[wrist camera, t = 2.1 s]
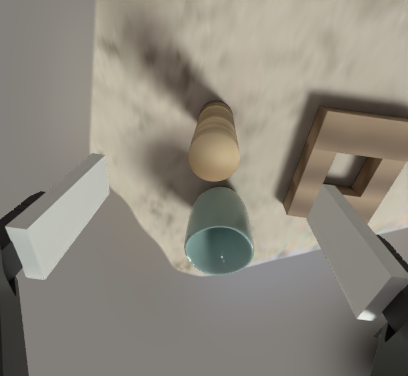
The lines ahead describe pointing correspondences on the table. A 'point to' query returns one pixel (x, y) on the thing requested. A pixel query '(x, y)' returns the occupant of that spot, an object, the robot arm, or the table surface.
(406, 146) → the box with square hole
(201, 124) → the peg
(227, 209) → the cup
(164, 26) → the table surface
